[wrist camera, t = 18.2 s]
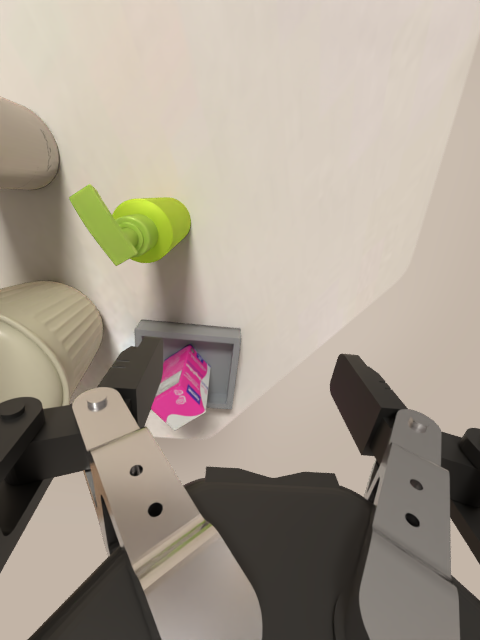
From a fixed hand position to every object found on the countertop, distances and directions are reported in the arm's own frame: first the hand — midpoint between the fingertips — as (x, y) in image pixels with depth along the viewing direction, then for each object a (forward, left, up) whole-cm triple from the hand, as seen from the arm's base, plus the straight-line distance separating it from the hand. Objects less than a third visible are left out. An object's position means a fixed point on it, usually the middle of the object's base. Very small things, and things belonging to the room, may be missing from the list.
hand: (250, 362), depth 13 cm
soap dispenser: (-10, +3, -30) cm, 32 cm away
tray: (-6, -20, -30) cm, 37 cm away
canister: (-26, -14, -30) cm, 42 cm away
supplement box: (-6, -20, -30) cm, 36 cm away
